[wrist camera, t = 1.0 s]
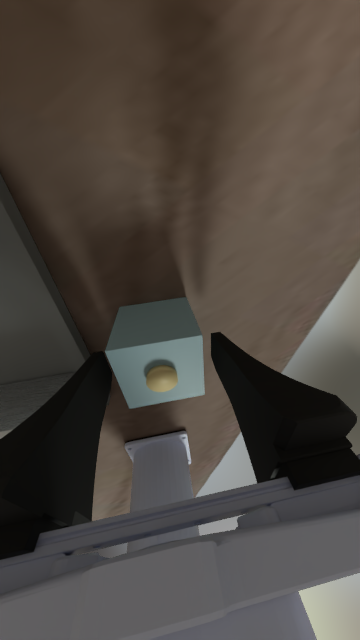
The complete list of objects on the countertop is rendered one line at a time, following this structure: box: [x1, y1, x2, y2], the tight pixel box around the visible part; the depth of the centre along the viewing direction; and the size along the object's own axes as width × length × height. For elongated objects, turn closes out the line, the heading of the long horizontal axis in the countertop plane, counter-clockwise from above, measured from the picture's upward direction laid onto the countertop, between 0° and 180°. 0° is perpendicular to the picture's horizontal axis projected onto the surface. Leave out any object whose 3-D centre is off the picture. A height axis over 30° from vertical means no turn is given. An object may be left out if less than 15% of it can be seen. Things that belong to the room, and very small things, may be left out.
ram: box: [0, 372, 76, 439], centre depth 13 cm, size 3×10×4 cm, turn 96°
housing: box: [105, 297, 205, 409], centre depth 12 cm, size 5×5×5 cm
